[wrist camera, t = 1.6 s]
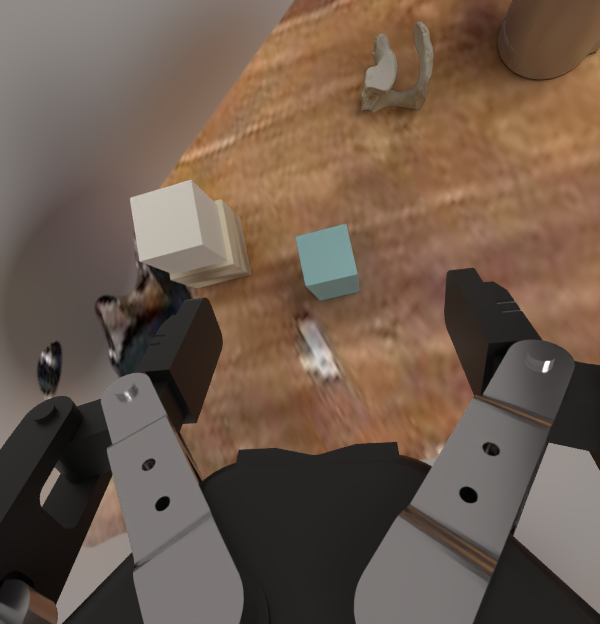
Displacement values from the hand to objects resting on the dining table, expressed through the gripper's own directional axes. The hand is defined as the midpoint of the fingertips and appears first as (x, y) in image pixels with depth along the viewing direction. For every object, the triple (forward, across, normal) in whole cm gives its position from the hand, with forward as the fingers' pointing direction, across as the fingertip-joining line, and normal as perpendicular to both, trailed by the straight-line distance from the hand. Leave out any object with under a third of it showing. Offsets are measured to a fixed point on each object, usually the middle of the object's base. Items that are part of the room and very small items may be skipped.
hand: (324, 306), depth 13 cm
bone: (+39, -7, -1) cm, 40 cm away
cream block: (+25, +14, +7) cm, 29 cm away
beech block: (+29, +14, +11) cm, 34 cm away
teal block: (+26, +1, +14) cm, 30 cm away
